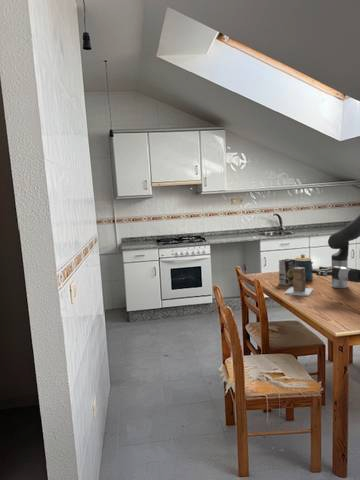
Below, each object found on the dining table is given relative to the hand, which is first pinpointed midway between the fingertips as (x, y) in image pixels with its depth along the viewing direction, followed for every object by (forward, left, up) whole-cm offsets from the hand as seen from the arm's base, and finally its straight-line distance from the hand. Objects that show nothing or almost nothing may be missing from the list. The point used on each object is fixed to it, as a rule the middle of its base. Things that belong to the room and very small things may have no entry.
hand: (315, 269), depth 217 cm
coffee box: (-22, -22, -16) cm, 35 cm away
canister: (-37, -15, -16) cm, 43 cm away
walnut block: (-4, -10, -14) cm, 18 cm away
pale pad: (-3, -10, -15) cm, 19 cm away
